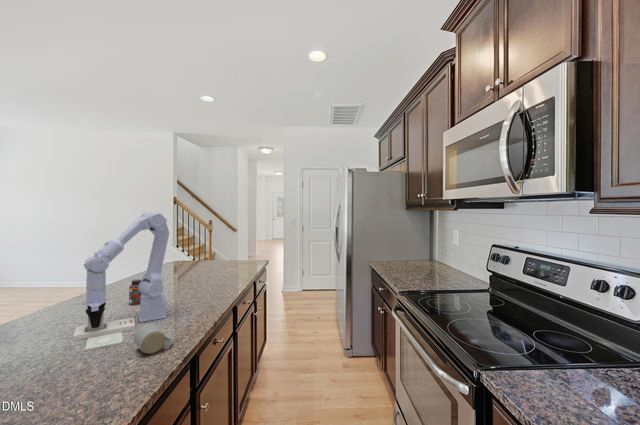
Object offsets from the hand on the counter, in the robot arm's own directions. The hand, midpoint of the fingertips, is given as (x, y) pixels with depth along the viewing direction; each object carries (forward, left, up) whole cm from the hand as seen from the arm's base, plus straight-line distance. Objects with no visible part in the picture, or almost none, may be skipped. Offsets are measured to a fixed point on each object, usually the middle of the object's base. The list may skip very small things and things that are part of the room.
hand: (96, 325), depth 110 cm
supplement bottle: (-14, -32, -3) cm, 35 cm away
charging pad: (-3, +12, -2) cm, 13 cm away
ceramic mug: (-17, +27, -3) cm, 32 cm away
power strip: (-3, 0, -2) cm, 4 cm away
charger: (0, 0, -2) cm, 2 cm away
